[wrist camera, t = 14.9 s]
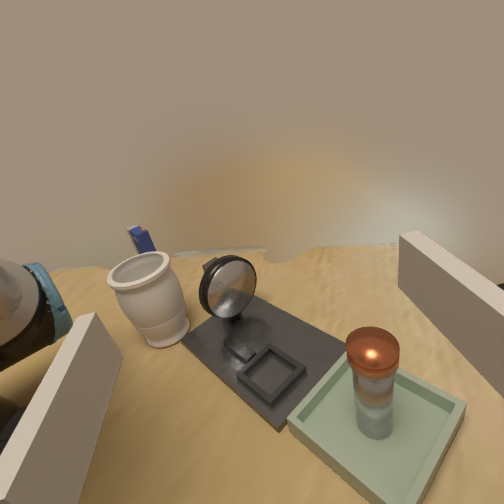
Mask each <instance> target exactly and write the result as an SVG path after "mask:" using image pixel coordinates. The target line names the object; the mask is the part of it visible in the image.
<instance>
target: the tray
mask: <svg viewBox="0 0 504 504" xmlns="http://www.w3.org/2000/svg"><path fill="white" fill-rule="evenodd" d="M466 406H467V403H466V402H464V401H462V400H460V399H458V398H456V397H454V396H453V395H451V394H449V393H447V392H445V391H443V390H441V389H439V388H437V387H435V386H433V385H431V384H429V383H427V382H425V381H423V380H422V379H420V378H418V377H416V376H414V375H412V374H410V373H408V372H406V371H404V370H402V369H400V368H398V370H397V371H396V373H395V374H394V407H393V430H392V433H391V434H390V436H389V437H387V438H386V439H383V440H373V439H370V438H368V437H366V436H365V435H364V434H363V433H362V432H361V431H360V430H359V428H358V426H357V423H356V412H355V400H354V388H353V375H352V369H351V368H350V366H349V364H348V361H347V353H346V352H345V353H344V354H343V355H342V356H341V357H340V358H339V359H338V361H337V362H336V363H335V364H334V365H333V366H332V367H331V368H330V370H329V371H328V372H327V373H326V374H325V375H324V376H323V377H322V379H321V380H320V381H319V382H318V383H317V384H316V385H315V386H314V388H313V389H312V390H311V391H310V392H309V393H308V394H307V395H306V397H305V398H304V399H303V400H302V401H301V402H300V403H299V404H298V406H297V407H296V408H295V409H294V410H293V411H292V412H291V413H290V415H289V416H288V417H287V422H288V426H289V429H290V432H291V433H292V434H293V435H294V436H295V437H296V438H297V439H299V440H300V441H301V442H302V443H303V444H304V445H305V446H306V447H308V448H309V449H310V450H311V451H312V452H313V453H314V454H315V455H317V456H318V457H319V458H320V459H321V460H322V461H323V462H324V463H326V464H327V465H328V466H329V467H330V468H331V469H332V470H334V471H335V472H336V473H337V474H338V475H339V476H340V477H341V478H343V479H344V480H345V481H346V482H347V483H348V484H349V485H350V486H352V487H353V488H354V489H355V490H356V491H357V492H358V493H359V494H361V495H362V496H363V497H364V498H365V499H366V500H367V501H368V502H370V503H371V504H422V502H423V500H424V498H425V496H426V493H427V491H428V489H429V487H430V485H431V483H432V481H433V479H434V477H435V475H436V473H437V471H438V469H439V467H440V465H441V463H442V461H443V459H444V457H445V455H446V453H447V451H448V449H449V447H450V445H451V443H452V441H453V439H454V437H455V435H456V433H457V431H458V429H459V427H460V425H461V423H462V421H463V419H464V415H465V410H466Z"/></svg>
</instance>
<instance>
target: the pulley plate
mask: <svg viewBox="0 0 504 504" xmlns="http://www.w3.org/2000/svg"><path fill="white" fill-rule="evenodd" d="M202 267H203V270H204V272H205V273H204V275H203V277H202V280H201V283H200V287H199V300H200V303H201V305H202V307H203V308H204V310H205V311H206V312H208V313H209V314H211V315H212V317H210V318H209V319H208V320H206V321H205V322H203V323H202V324H201V325H199V326H198V327H197V328H195V329H194V330H193V331H191V332H190V333H189V334H187V335H186V336H184V337H183V338H182V339H180V341H181V343H182V344H183V345H184V346H185V347H186V348H187V349H188V350H189V351H190V352H191V353H193V354H194V355H195V356H196V357H197V358H198V359H199V360H200V361H201V362H202V363H203V364H205V365H206V366H207V367H208V368H209V369H210V370H211V371H212V372H213V373H214V374H215V375H216V376H218V377H219V378H220V379H221V380H222V381H223V382H224V383H225V384H226V385H227V386H228V387H229V388H231V389H232V390H233V391H234V392H235V393H236V394H237V395H238V396H239V397H240V398H241V399H242V400H244V401H245V402H246V403H247V404H248V405H249V406H250V407H251V408H252V409H253V410H254V411H256V412H257V413H258V414H259V415H260V416H261V417H262V418H263V419H264V420H265V421H266V422H267V423H269V424H270V425H271V426H272V427H273V428H274V429H275V430H276V431H277V432H278V433H279V432H280V431H281V430H282V429H283V428H284V427H285V425H286V424H287V423H288V422H287V417H288V416H289V415H290V413H291V412H292V411H293V410H294V409H295V408H296V407H297V406H298V404H299V403H300V402H301V401H302V400H303V399H304V398H305V397H306V395H307V394H308V393H309V392H310V391H311V390H312V389H313V388H314V386H315V385H316V384H317V383H318V382H319V381H320V380H321V379H322V377H323V376H324V375H325V374H326V373H327V372H328V371H329V370H330V368H331V367H332V366H333V365H334V364H335V363H336V362H337V361H338V359H339V358H340V357H341V356H342V355H343V354H344V353H345V352H346V343H344V342H342V341H340V340H338V339H337V338H335V337H333V336H331V335H329V334H327V333H325V332H323V331H321V330H319V329H317V328H316V327H314V326H312V325H310V324H308V323H306V322H304V321H302V320H300V319H298V318H296V317H295V316H293V315H291V314H289V313H287V312H285V311H283V310H281V309H279V308H277V307H275V306H273V305H272V304H270V303H268V302H266V301H264V300H262V299H260V298H258V297H256V296H254V292H255V288H256V280H257V279H256V272H255V269H254V267H253V266H252V264H251V263H250V262H249V261H247V260H246V259H243V258H241V257H239V256H235V255H227V256H223V257H221V258H219V259H218V258H216V257H215V258H214V259H212V260H210V261H209V262H207V263H206V264H204V265H202Z"/></svg>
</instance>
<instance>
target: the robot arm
mask: <svg viewBox="0 0 504 504" xmlns="http://www.w3.org/2000/svg"><path fill="white" fill-rule="evenodd" d="M398 287H399V288H400V289H401V290H402V291H403V292H404V293H405V295H406V296H407V297H408V298H409V299H410V300H411V301H412V302H413V303H414V304H415V305H416V306H417V307H418V308H419V309H420V310H421V311H422V313H423V314H424V315H425V316H426V317H427V318H428V319H429V320H430V321H431V322H432V323H433V324H434V325H435V326H436V327H437V328H438V329H439V331H440V332H441V333H442V334H443V335H444V336H445V337H446V338H447V339H448V340H449V341H450V342H451V343H452V344H453V345H454V346H455V347H456V349H457V350H458V351H459V352H460V353H461V354H462V355H463V356H464V357H465V358H466V359H467V360H468V361H469V362H470V363H471V364H472V365H473V367H474V368H475V369H476V370H477V371H478V372H479V373H480V374H481V375H482V376H483V377H484V378H485V379H486V380H487V381H488V382H489V383H490V385H491V386H492V387H493V388H494V389H495V390H496V391H497V392H498V393H499V394H500V395H501V396H502V397H503V398H504V283H503V284H499V285H495V284H494V283H492V282H491V281H489V280H488V279H486V278H485V277H484V276H482V275H481V274H479V273H478V272H476V271H475V270H474V269H472V268H471V267H469V266H468V265H466V264H465V263H463V262H462V261H460V260H459V259H458V258H456V257H455V256H453V255H452V254H450V253H449V252H448V251H446V250H445V249H443V248H442V247H440V246H439V245H438V244H436V243H435V242H433V241H431V240H430V239H429V238H427V237H426V236H424V235H423V234H421V233H420V232H419V231H417V230H416V231H412V232H408V233H404V234H400V235H399V267H398ZM66 334H68V335H67V337H66V339H65V340H64V342H63V344H62V346H61V348H60V349H59V351H58V353H57V355H56V356H55V358H54V360H53V362H52V364H51V365H50V367H49V369H48V371H47V373H46V374H45V376H44V378H43V380H42V382H41V383H40V385H39V387H38V389H37V391H36V392H35V394H34V396H33V398H32V400H31V401H30V403H29V405H28V406H27V407H23V408H19V407H18V406H17V405H16V404H15V403H14V402H13V401H11V400H9V399H6V398H3V397H0V504H78V502H79V499H80V495H81V492H82V489H83V486H84V482H85V479H86V476H87V473H88V469H89V466H90V463H91V460H92V456H93V453H94V450H95V447H96V443H97V440H98V437H99V434H100V430H101V427H102V424H103V421H104V417H105V414H106V411H107V408H108V404H109V401H110V398H111V395H112V391H113V388H114V385H115V382H116V378H117V375H118V372H119V369H120V365H121V362H122V359H123V356H122V354H121V352H120V351H119V349H118V348H117V346H116V344H115V343H114V341H113V339H112V338H111V336H110V335H109V333H108V331H107V330H106V328H105V326H104V325H103V323H102V322H101V320H100V318H99V317H98V315H97V313H96V312H94V313H90V314H86V315H82V316H78V317H77V319H76V321H75V322H74V324H73V322H72V319H71V316H70V314H69V312H68V310H67V308H66V306H65V305H64V302H63V300H62V298H61V296H60V294H59V292H58V290H57V288H56V287H55V285H54V283H53V281H52V279H51V278H50V276H49V274H48V273H47V271H46V270H45V268H44V267H43V266H42V265H41V264H40V263H38V262H33V263H30V264H24V265H22V266H20V265H19V264H16V263H14V262H10V261H6V260H1V259H0V372H1V371H3V370H5V369H7V368H8V367H10V366H12V365H14V364H16V363H17V362H19V361H21V360H23V359H24V358H26V357H28V356H30V355H32V354H33V353H35V352H37V351H39V350H41V349H42V348H44V347H46V346H48V345H52V344H54V343H55V342H56V341H57V340H58V339H60V338H61V337H63V336H65V335H66Z"/></svg>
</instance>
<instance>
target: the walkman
mask: <svg viewBox="0 0 504 504" xmlns="http://www.w3.org/2000/svg"><path fill="white" fill-rule="evenodd" d="M126 230H127V232H128V234H129V236H130V238H131V241H132V243H133V245H134V247H135V249H136V252H137V254H138V255H139V254H143V253H147V252H155V251H156V249H155V247H154V244H153V242H152V240H151V238H150V235H149V233H148V231H147V230H145V229H144V228H141V227H140V226H138V225H134V226H131V227H129V228H127V229H126Z"/></svg>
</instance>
